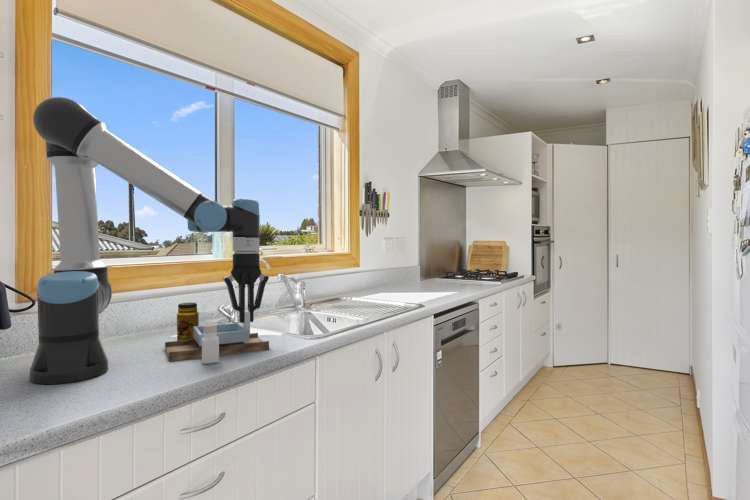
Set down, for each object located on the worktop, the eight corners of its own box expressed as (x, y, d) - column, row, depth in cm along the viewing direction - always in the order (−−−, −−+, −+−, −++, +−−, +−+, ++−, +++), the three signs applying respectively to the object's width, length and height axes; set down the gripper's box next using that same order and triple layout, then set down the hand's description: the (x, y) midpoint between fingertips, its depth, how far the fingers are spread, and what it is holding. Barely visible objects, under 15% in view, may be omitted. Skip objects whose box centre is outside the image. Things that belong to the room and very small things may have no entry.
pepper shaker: (201, 361, 118) (201, 324, 117) (218, 359, 119) (218, 323, 119) (202, 365, 114) (201, 327, 114) (219, 363, 115) (218, 325, 115)
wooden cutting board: (169, 361, 117) (168, 352, 117) (165, 349, 129) (164, 341, 129) (269, 349, 130) (269, 341, 130) (257, 339, 142) (257, 332, 141)
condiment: (174, 346, 133) (173, 305, 132) (177, 340, 141) (177, 301, 140) (200, 345, 135) (200, 304, 135) (202, 338, 143) (202, 300, 143)
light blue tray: (199, 353, 121) (199, 335, 121) (193, 343, 132) (193, 326, 132) (249, 347, 127) (249, 330, 127) (239, 338, 139) (239, 322, 138)
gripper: (225, 253, 126) (225, 338, 127) (271, 252, 132) (272, 333, 133) (220, 252, 133) (220, 333, 133) (265, 251, 139) (265, 329, 140)
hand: (246, 333), depth 133 cm, fingers closed
